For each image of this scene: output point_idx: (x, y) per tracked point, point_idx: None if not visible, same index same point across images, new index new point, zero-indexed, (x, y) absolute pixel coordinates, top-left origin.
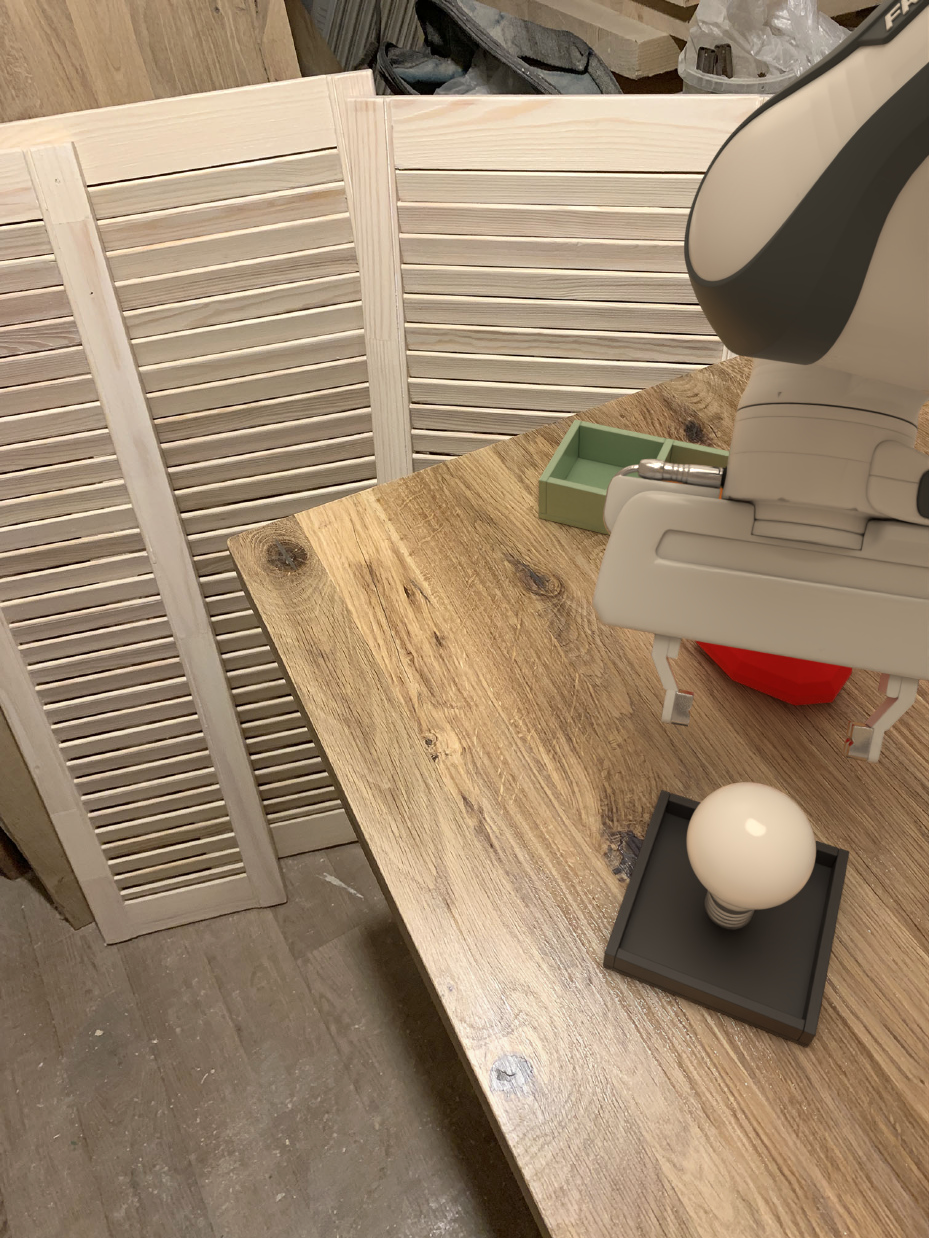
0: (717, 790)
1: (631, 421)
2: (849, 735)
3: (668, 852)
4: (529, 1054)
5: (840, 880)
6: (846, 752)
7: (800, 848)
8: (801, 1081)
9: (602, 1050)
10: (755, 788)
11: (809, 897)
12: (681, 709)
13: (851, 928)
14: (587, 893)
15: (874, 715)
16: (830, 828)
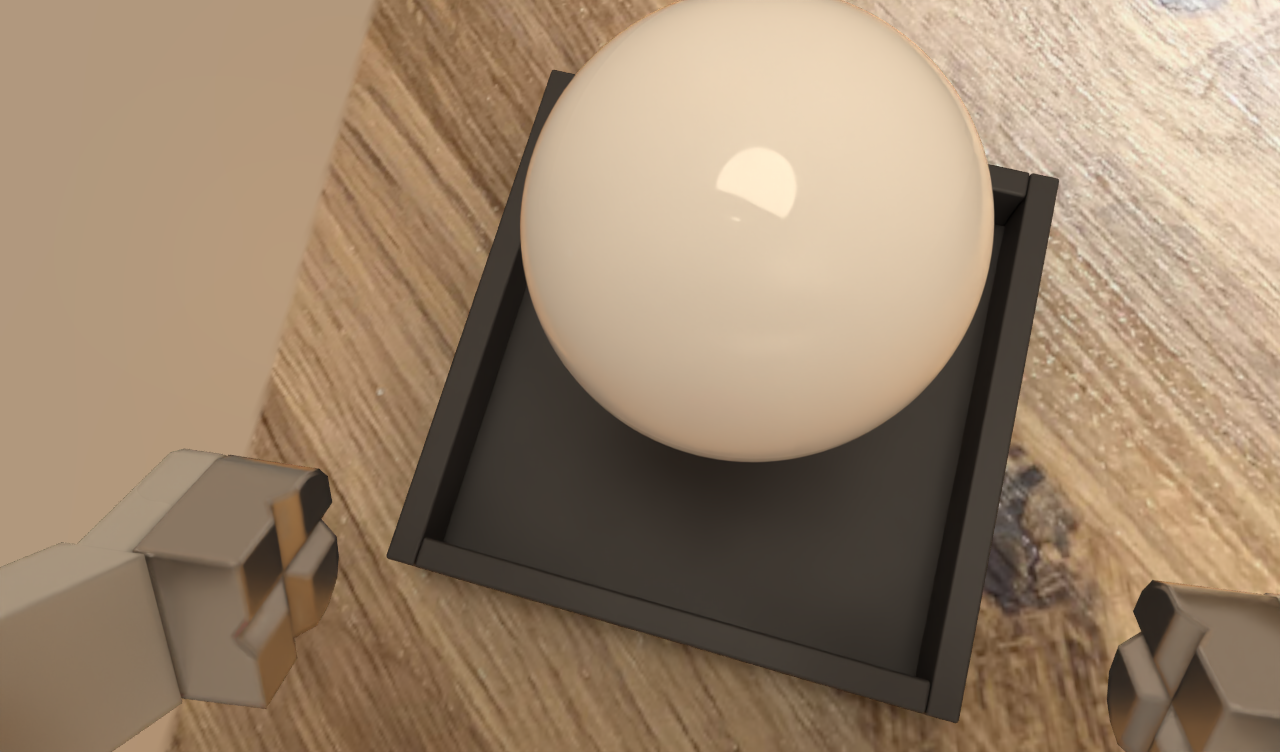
0: (921, 324)
1: None
2: (284, 599)
3: (896, 538)
4: (1159, 16)
5: (428, 457)
6: (322, 514)
7: (597, 67)
8: (583, 52)
9: (1001, 47)
10: (775, 276)
11: (514, 448)
12: (1251, 638)
13: (420, 392)
14: (1101, 400)
15: (107, 700)
16: (422, 690)
